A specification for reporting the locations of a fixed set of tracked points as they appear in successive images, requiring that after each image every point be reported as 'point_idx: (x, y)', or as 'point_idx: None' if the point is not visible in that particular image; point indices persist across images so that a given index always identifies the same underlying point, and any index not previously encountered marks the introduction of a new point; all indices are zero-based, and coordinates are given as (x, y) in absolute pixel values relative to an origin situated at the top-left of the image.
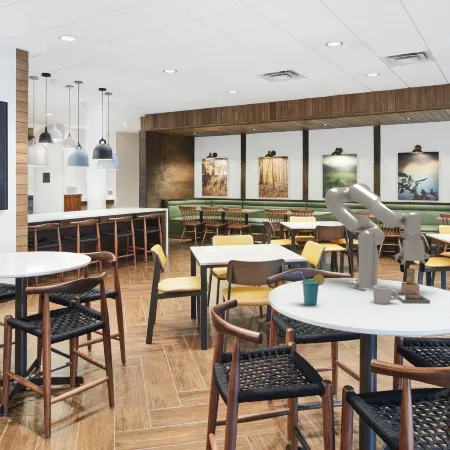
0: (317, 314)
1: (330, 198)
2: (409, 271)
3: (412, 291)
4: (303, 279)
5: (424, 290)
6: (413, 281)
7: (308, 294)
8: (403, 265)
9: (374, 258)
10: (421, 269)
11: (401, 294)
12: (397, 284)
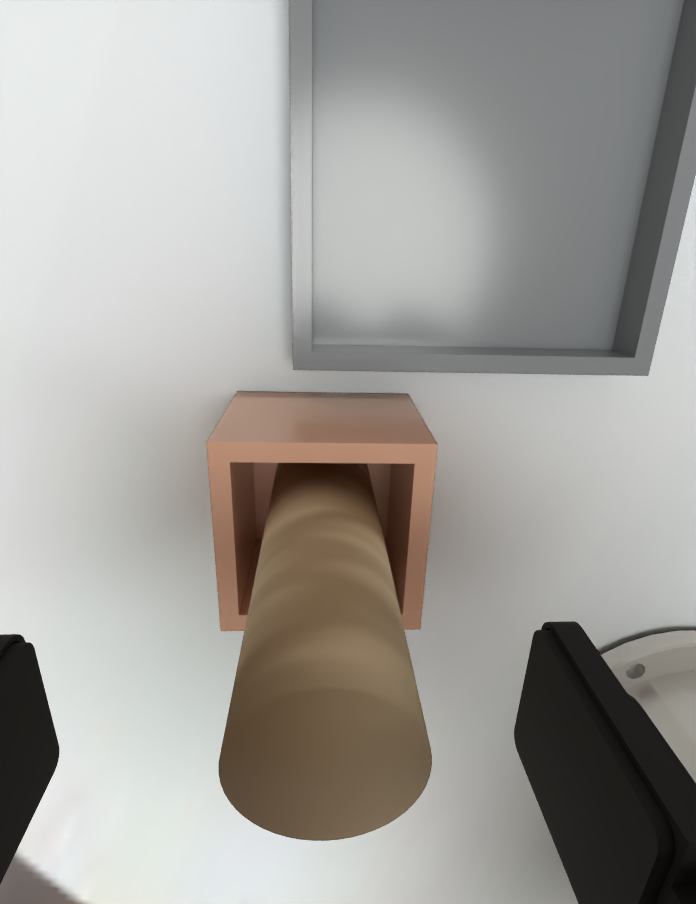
0: None
1: None
2: (391, 661)
3: (327, 410)
4: None
5: (71, 678)
6: (290, 520)
7: None
8: (685, 804)
9: None
10: (14, 751)
11: (500, 351)
12: (268, 884)
